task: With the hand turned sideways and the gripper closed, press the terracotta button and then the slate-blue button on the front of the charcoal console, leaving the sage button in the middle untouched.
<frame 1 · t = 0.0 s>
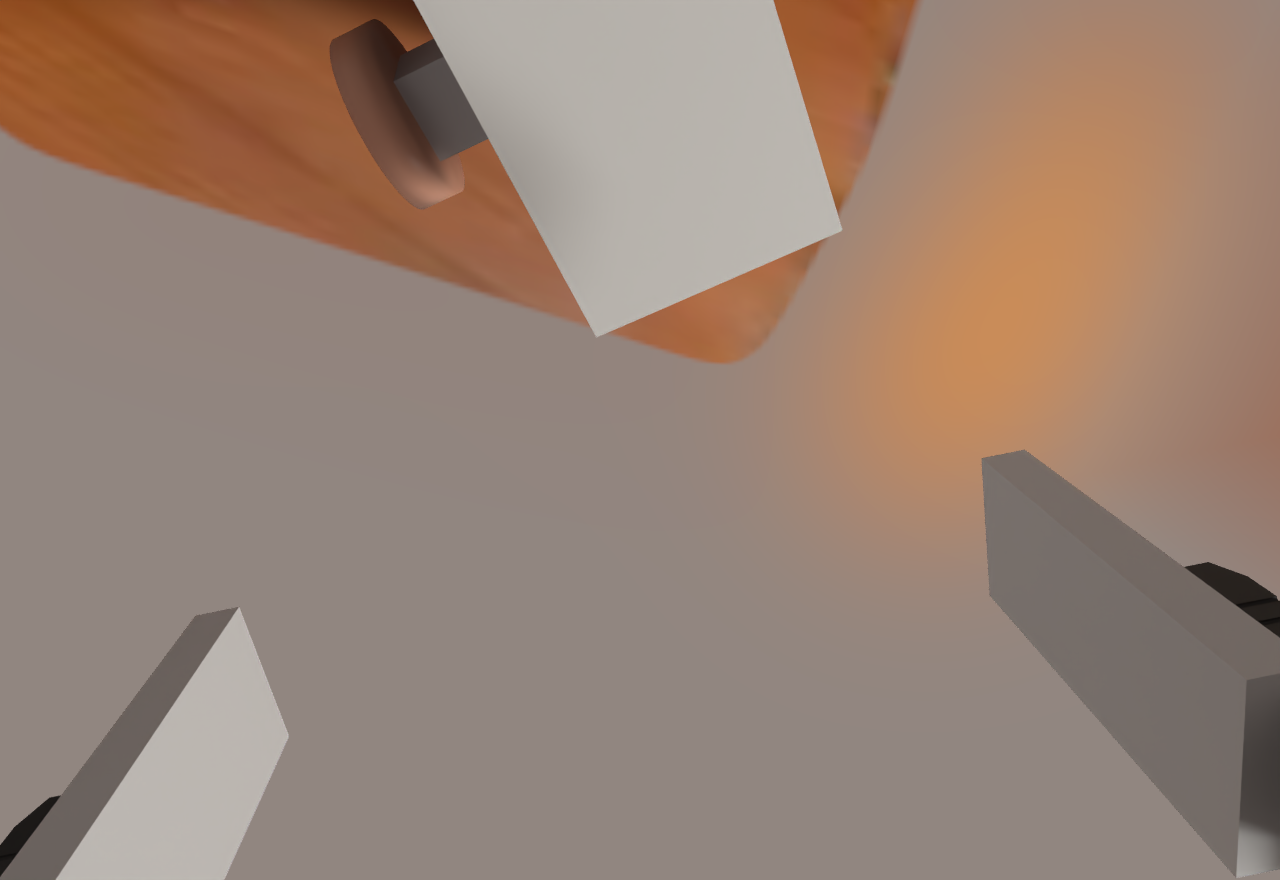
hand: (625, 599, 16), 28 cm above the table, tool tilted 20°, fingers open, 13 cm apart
terracotta button: (448, 94, 26), point 12 cm above the table, slide at 0.0 cm
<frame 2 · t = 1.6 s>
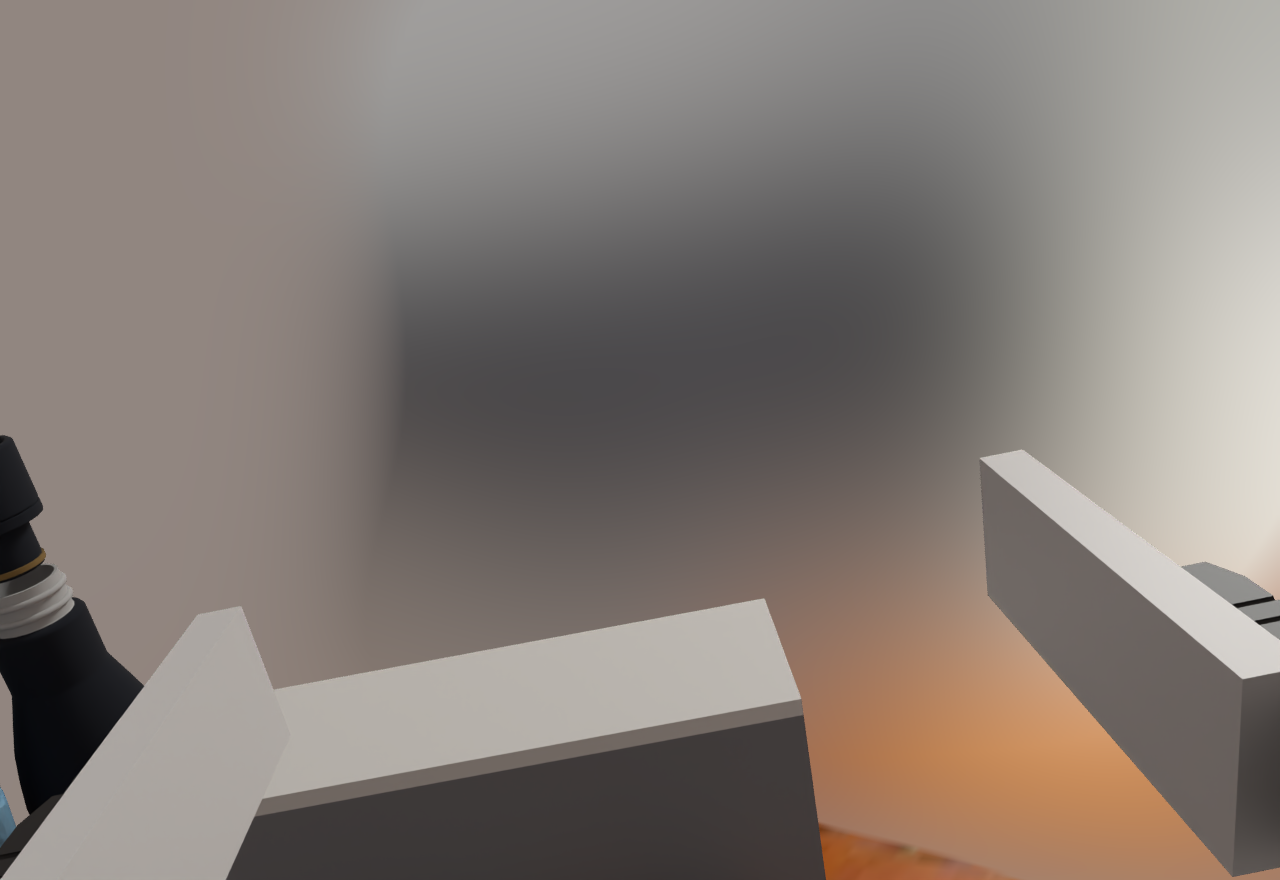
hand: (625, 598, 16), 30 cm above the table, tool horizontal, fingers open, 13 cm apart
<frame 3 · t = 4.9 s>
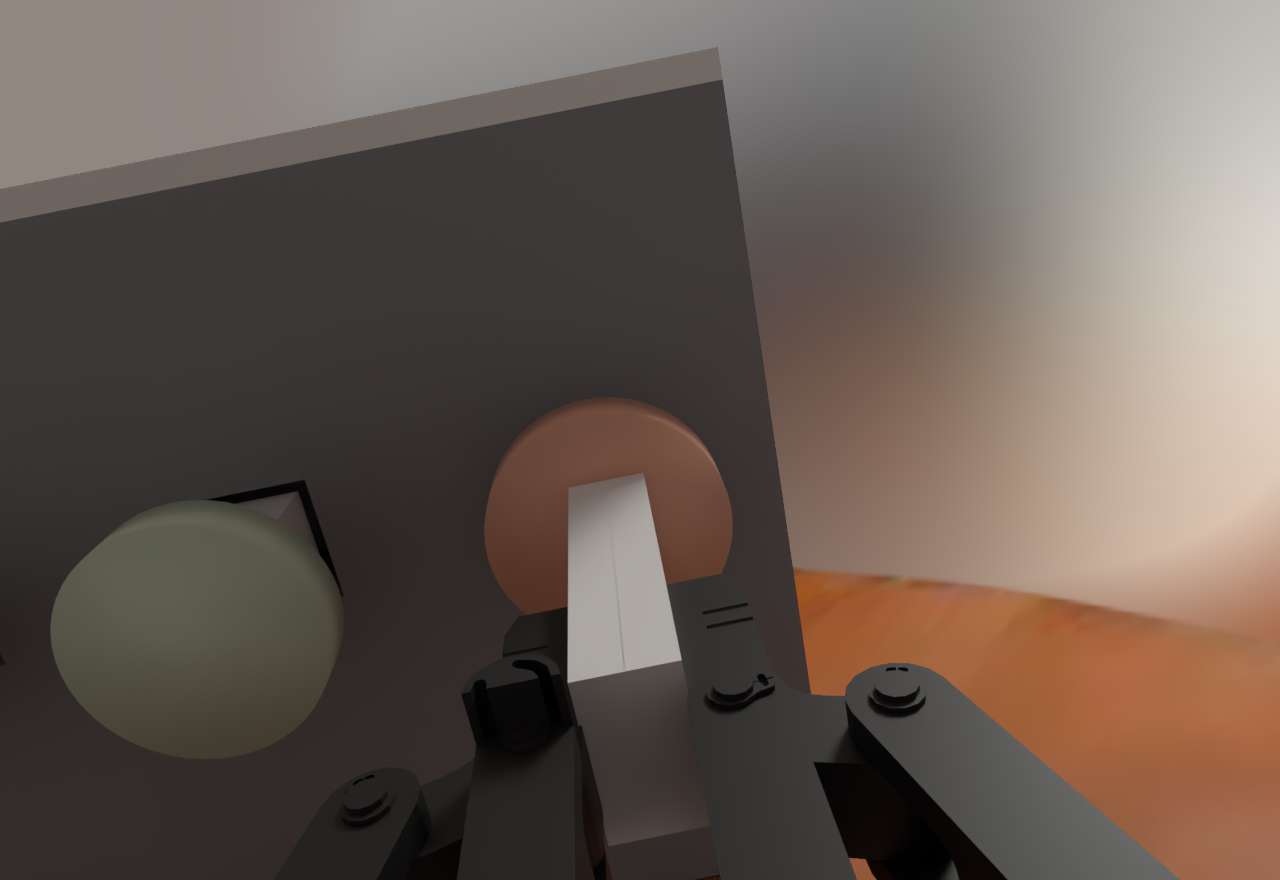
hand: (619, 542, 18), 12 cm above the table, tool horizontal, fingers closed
control panel: (419, 856, 28), on the table
sage button: (231, 593, 19), point 12 cm above the table, slide at 0.0 cm
terracotta button: (605, 492, 20), point 12 cm above the table, slide at 1.3 cm, touching gripper
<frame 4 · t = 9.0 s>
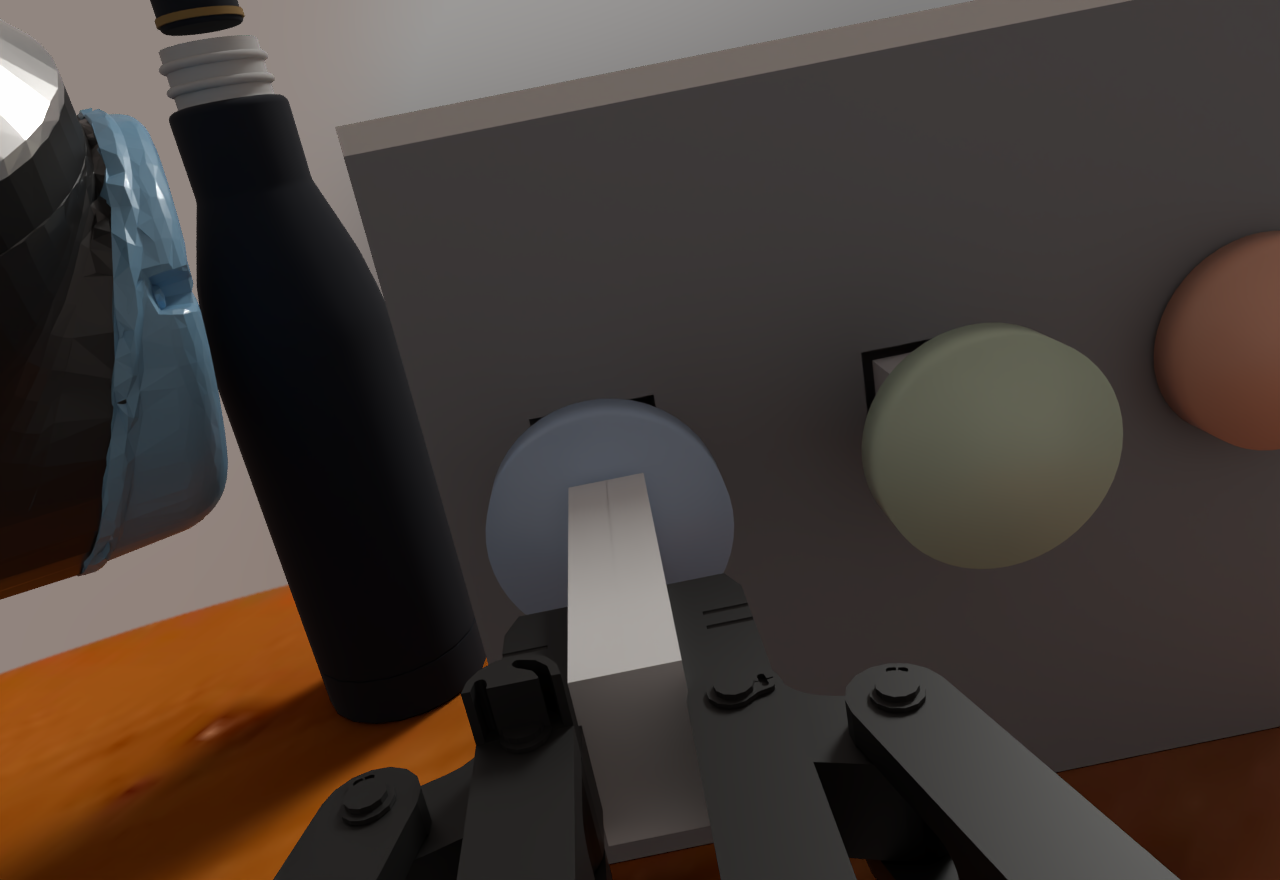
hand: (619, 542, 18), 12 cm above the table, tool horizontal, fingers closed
control panel: (921, 726, 29), on the table
slate button: (606, 494, 20), point 12 cm above the table, slide at 0.1 cm, touching gripper
wine bottle: (411, 677, 38), on the table
sage button: (959, 424, 20), point 12 cm above the table, slide at 0.0 cm
terracotta button: (1229, 327, 23), point 12 cm above the table, slide at 2.7 cm
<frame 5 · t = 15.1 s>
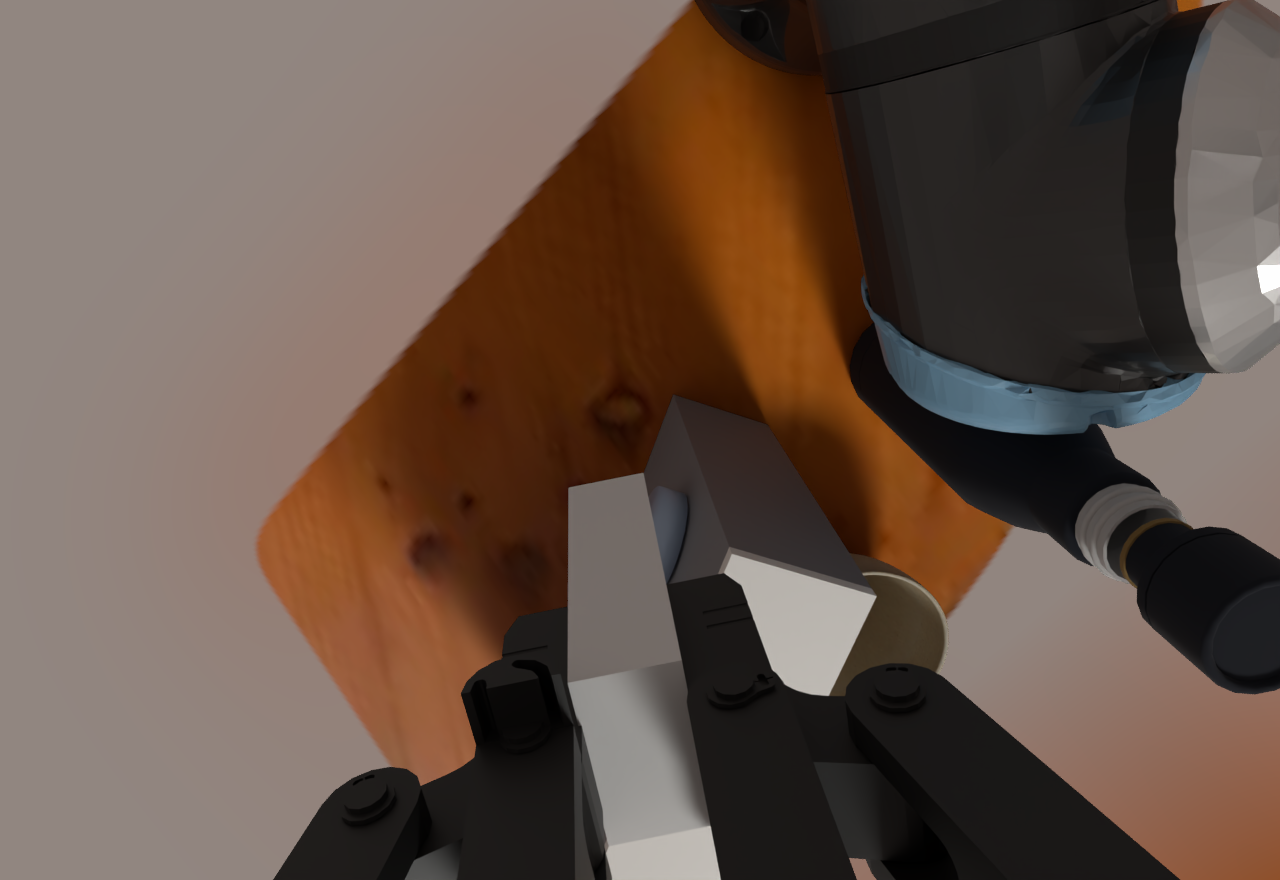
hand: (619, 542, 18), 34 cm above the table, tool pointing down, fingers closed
control panel: (652, 583, 57), on the table
slate button: (685, 548, 43), point 12 cm above the table, slide at 2.7 cm
flower pot: (828, 588, 59), on the table
wine bottle: (901, 362, 54), on the table
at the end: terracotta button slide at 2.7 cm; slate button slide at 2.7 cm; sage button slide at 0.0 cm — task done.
